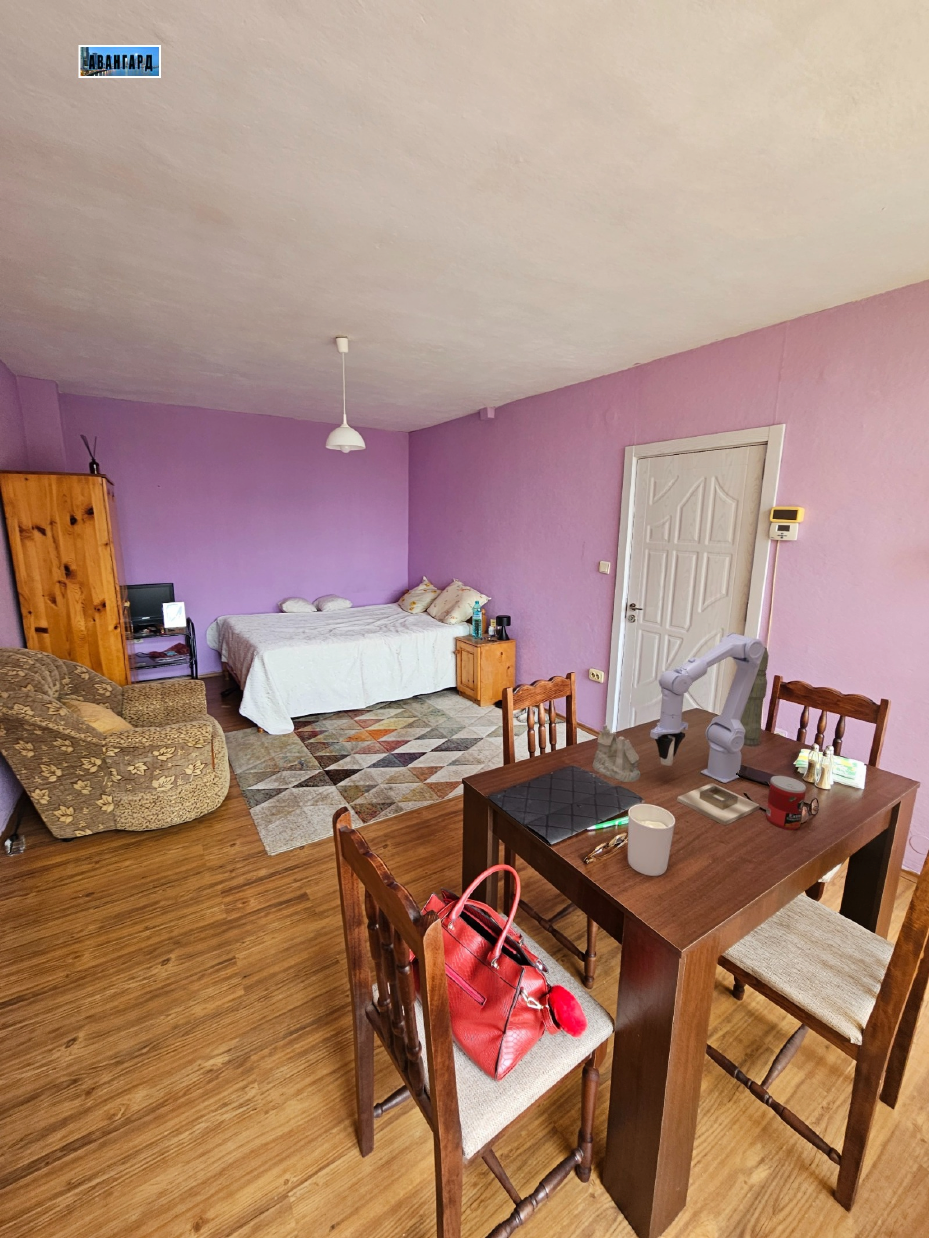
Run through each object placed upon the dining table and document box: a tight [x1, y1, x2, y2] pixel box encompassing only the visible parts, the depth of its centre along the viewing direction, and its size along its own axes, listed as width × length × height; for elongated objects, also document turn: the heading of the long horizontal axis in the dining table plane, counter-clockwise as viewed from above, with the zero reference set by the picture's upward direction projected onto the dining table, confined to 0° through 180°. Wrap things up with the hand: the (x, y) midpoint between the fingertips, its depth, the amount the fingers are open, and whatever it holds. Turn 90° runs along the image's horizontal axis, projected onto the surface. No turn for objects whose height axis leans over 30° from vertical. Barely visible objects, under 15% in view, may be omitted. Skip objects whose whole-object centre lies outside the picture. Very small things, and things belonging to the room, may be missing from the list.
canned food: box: [765, 775, 807, 831], centre depth 134 cm, size 8×8×11 cm
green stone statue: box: [740, 646, 770, 747], centre depth 183 cm, size 9×12×35 cm
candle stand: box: [676, 782, 760, 827], centre depth 142 cm, size 16×14×3 cm
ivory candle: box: [660, 735, 675, 766], centre depth 151 cm, size 3×3×8 cm
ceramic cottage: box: [592, 724, 641, 783], centre depth 162 cm, size 16×16×15 cm
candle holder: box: [627, 803, 676, 877], centre depth 116 cm, size 10×10×12 cm
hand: (667, 756), depth 152 cm, fingers closed on ivory candle, 3 cm apart
